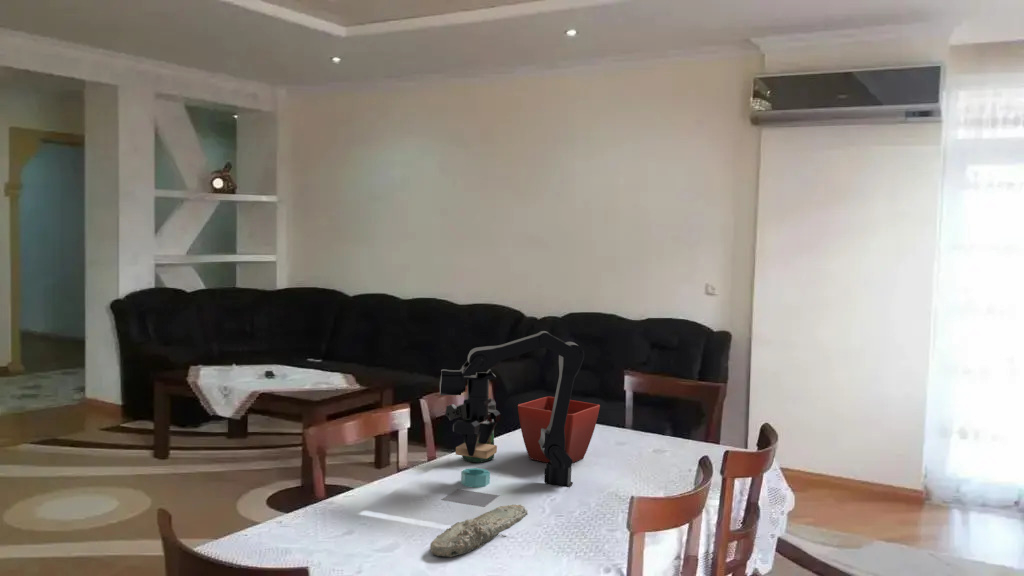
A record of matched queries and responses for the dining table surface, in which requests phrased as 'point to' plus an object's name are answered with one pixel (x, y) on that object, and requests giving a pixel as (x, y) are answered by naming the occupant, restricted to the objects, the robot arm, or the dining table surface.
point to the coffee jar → (491, 441)
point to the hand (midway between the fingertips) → (476, 452)
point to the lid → (477, 450)
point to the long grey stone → (476, 531)
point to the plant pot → (576, 428)
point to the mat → (470, 497)
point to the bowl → (475, 477)
